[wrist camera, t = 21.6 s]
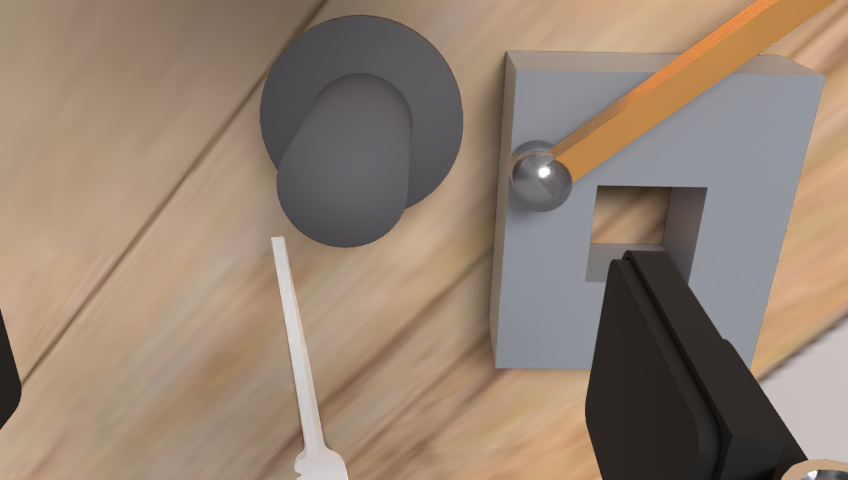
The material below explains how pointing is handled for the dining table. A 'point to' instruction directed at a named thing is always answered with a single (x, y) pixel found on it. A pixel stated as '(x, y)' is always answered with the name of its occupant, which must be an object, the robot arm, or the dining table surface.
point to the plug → (359, 127)
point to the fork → (304, 383)
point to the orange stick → (651, 102)
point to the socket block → (647, 166)
